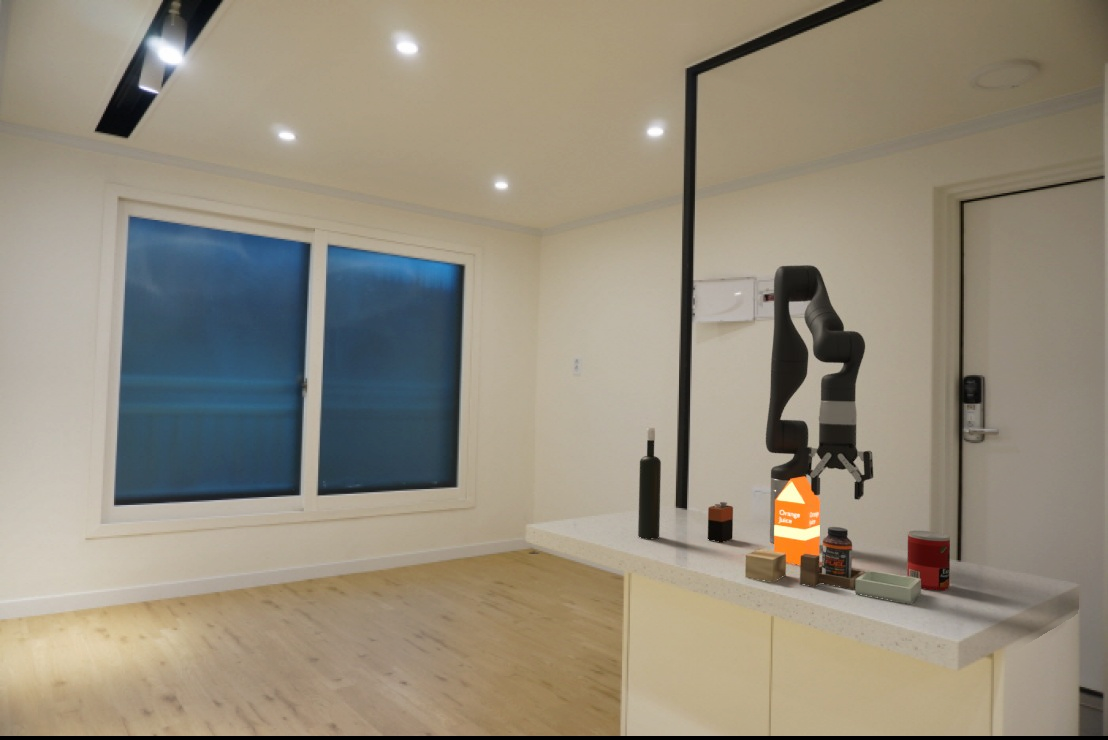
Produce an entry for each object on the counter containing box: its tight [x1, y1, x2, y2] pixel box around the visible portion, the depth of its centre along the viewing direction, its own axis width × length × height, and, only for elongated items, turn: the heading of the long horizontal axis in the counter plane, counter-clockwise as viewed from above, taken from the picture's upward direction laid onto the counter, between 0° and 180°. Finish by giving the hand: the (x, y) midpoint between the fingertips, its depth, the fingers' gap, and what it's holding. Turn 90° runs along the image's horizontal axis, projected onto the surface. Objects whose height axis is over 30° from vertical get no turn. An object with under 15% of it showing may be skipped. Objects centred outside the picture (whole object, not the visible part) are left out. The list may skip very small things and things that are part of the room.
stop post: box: [799, 553, 820, 588], centre depth 148 cm, size 3×3×6 cm
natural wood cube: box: [744, 548, 787, 583], centre depth 154 cm, size 8×6×5 cm
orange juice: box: [773, 476, 821, 566], centre depth 170 cm, size 8×9×20 cm
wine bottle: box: [637, 427, 662, 540], centre depth 193 cm, size 6×6×30 cm
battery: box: [707, 501, 734, 543], centre depth 192 cm, size 4×7×10 cm, turn 139°
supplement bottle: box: [821, 526, 853, 579], centre depth 152 cm, size 6×6×11 cm
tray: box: [854, 570, 922, 605], centre depth 142 cm, size 10×10×3 cm
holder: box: [819, 563, 866, 590], centre depth 151 cm, size 9×9×2 cm
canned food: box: [906, 530, 951, 592], centre depth 150 cm, size 8×8×11 cm
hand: (836, 496), depth 152 cm, fingers open, 8 cm apart
